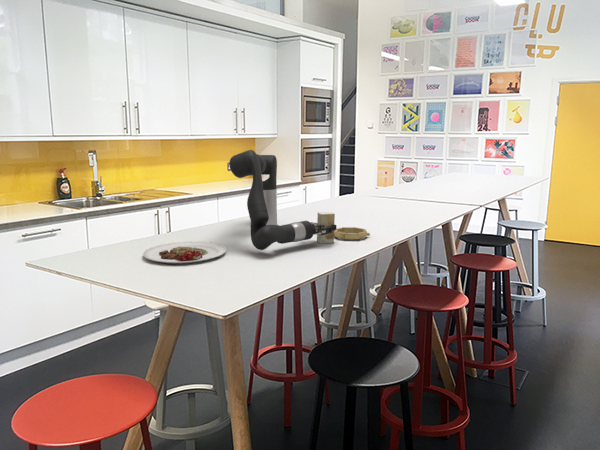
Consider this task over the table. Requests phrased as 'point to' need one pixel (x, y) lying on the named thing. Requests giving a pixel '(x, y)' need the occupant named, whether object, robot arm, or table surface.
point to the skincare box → (326, 220)
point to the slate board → (351, 239)
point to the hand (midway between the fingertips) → (330, 225)
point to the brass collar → (350, 233)
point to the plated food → (184, 252)
